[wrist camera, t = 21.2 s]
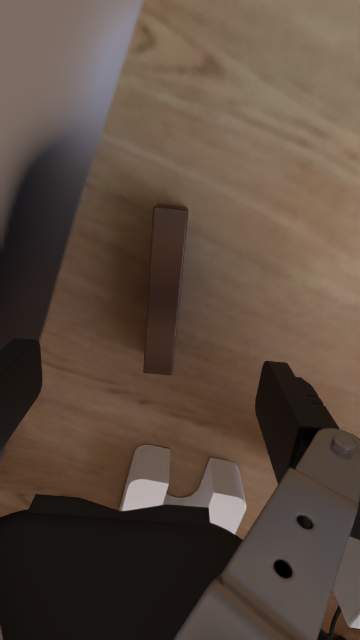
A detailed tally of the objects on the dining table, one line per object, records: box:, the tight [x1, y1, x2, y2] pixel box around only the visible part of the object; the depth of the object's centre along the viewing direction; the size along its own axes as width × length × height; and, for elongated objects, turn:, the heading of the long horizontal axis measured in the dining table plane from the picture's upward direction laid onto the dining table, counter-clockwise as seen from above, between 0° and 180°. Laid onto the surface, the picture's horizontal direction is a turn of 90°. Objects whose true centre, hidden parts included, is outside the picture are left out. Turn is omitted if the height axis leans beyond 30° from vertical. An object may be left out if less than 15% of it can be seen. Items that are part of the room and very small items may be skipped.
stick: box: [143, 204, 188, 375], centre depth 23 cm, size 11×2×3 cm, turn 175°
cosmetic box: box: [333, 536, 360, 629], centre depth 24 cm, size 6×4×12 cm
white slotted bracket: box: [119, 445, 246, 534], centre depth 28 cm, size 10×18×11 cm, turn 166°
